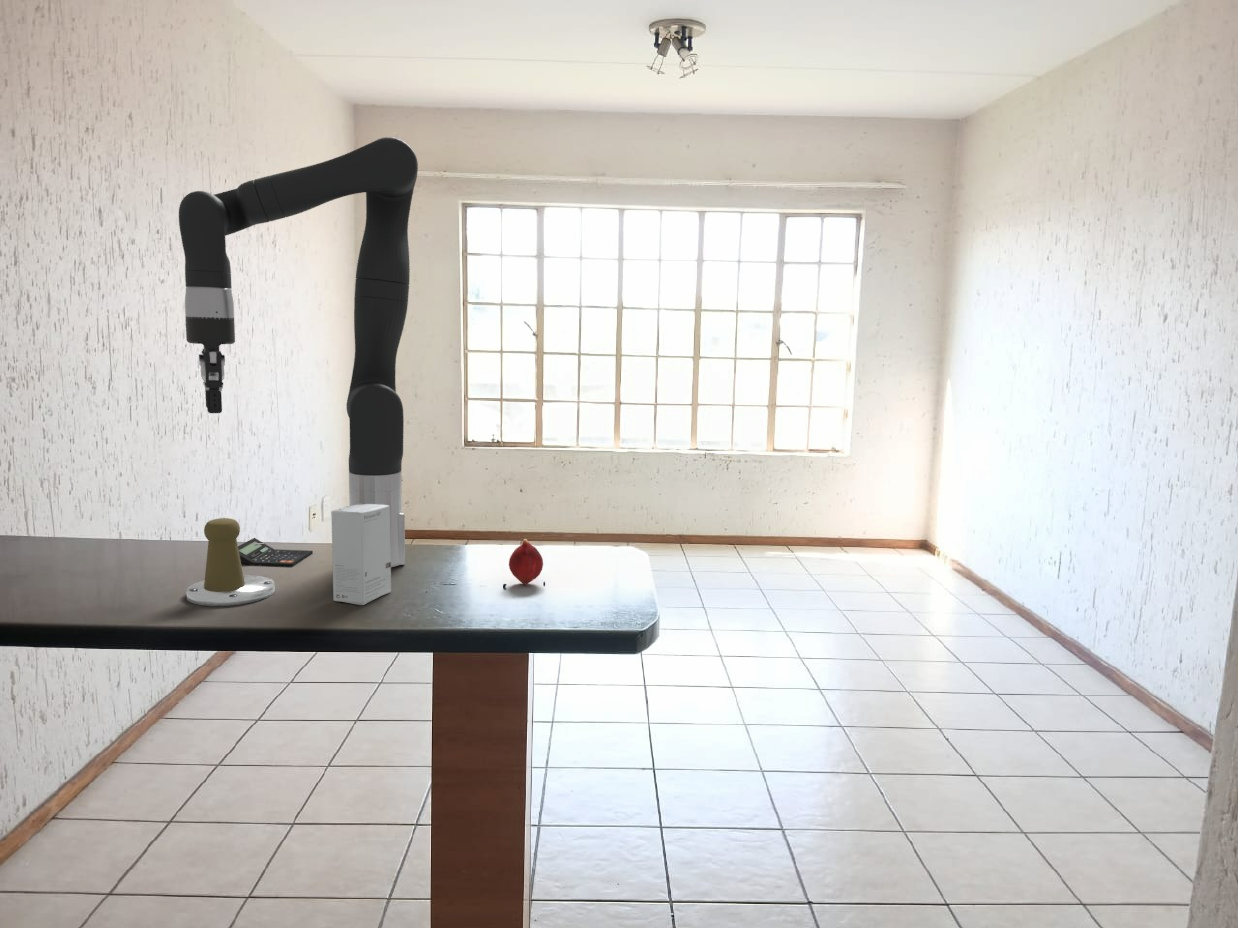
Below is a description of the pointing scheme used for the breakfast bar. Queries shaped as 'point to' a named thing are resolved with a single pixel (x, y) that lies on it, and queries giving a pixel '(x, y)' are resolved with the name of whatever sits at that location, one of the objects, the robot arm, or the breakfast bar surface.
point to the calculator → (270, 555)
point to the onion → (526, 563)
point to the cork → (223, 556)
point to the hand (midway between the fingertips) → (213, 410)
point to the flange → (232, 592)
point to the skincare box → (361, 553)
